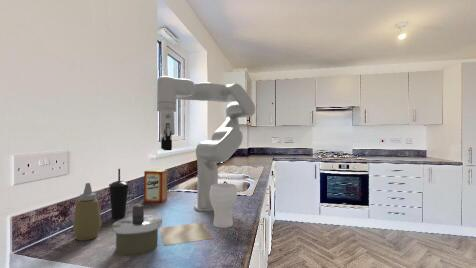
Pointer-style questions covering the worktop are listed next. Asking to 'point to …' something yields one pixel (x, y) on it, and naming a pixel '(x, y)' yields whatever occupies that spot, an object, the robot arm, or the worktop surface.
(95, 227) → the squeeze bottle
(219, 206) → the cup
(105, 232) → the worktop surface
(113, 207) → the drinking cup
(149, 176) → the baking soda box
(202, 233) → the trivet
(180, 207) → the worktop surface
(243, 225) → the worktop surface
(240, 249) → the worktop surface
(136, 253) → the can
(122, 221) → the lid
